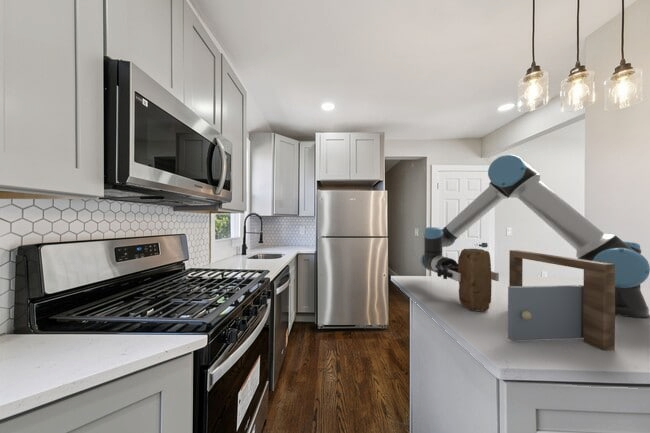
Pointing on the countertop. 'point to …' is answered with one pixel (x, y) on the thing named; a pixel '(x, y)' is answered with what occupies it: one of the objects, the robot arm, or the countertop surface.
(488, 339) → the countertop surface
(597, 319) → the door frame
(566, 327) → the door
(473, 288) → the brown elongated rounded part
